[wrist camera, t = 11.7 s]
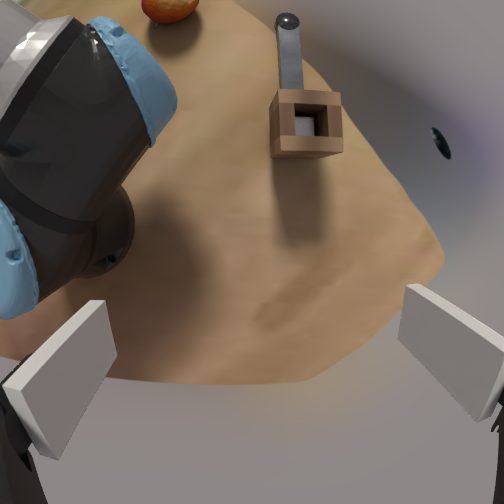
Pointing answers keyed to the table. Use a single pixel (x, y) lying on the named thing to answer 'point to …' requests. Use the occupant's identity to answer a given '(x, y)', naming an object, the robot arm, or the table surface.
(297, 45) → the grey lever handle
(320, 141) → the socket collar
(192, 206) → the table surface
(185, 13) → the fruit
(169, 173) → the table surface
